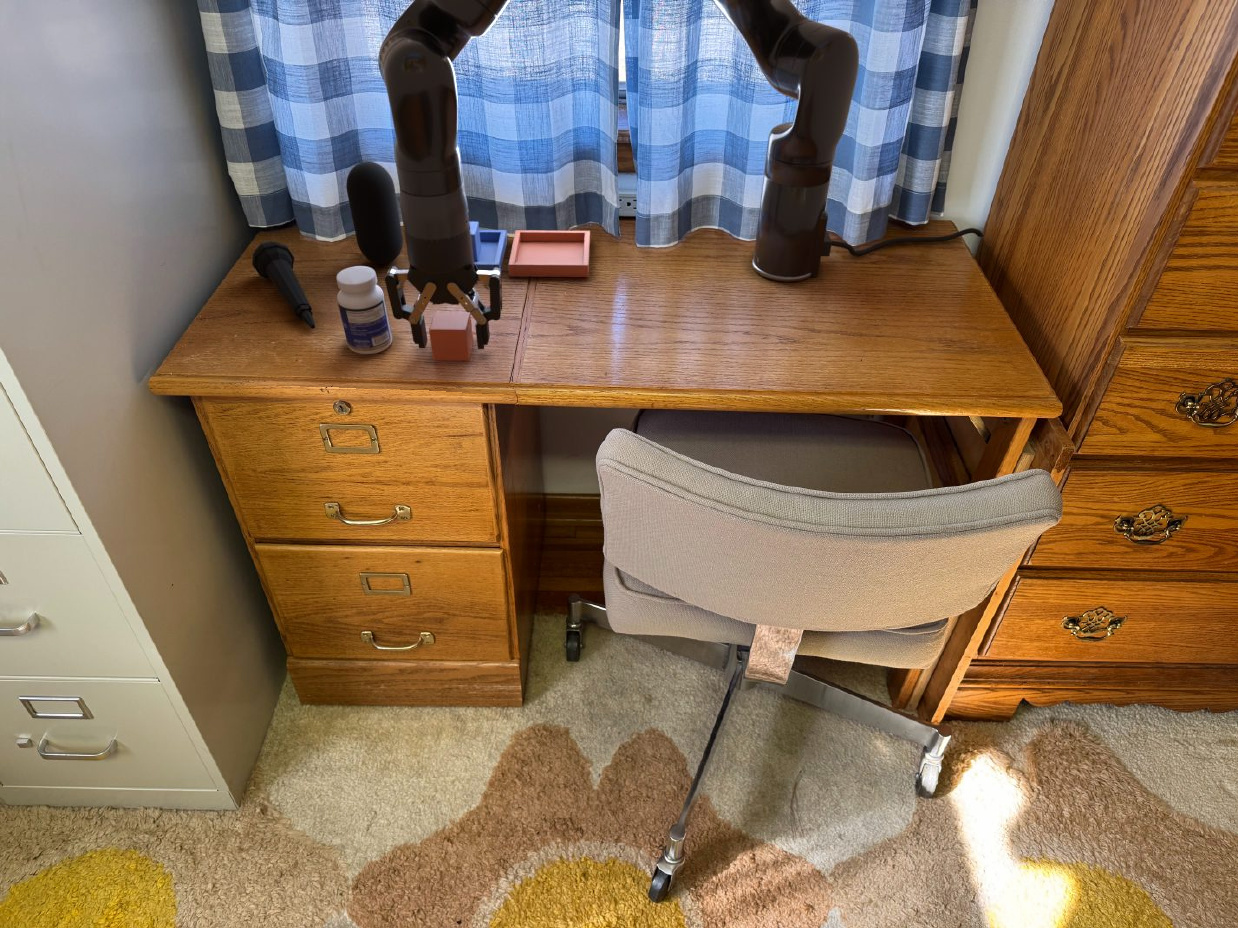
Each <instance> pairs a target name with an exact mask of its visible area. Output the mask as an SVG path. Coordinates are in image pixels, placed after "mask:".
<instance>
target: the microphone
mask: <svg viewBox="0 0 1238 928" xmlns="http://www.w3.org/2000/svg"><path fill="white" fill-rule="evenodd" d="M294 262H295V257H294V254H293V253H292V252H291V250H290V249H289V247H288V245H286V244H283V243H281V242H278V241H272V240H268V241H264V242H261V243H259V245H258V246H257V247H256V248H255V249H254V252H253V253H252V262H251V265H252V267H253V268H254V270H255V271H256V273H257V274H258V275H259V277H261V278H265V279H267V280H270V281H271V282H272V283H273V285H274V286H275V288H276V289H277V290H278V292H279V293H280V295H281V296H282V297H283V299H284V301H285V302H286V303H287V304H288V306H289V307H290V308H291V310H292V311H293V312H294V314H295V315H296V317H298V318H299V319H300V320H301V321H303V322H304V323H305V324H306V325H307V326H308V327H309V328H310V329H312V330H314V329H315V328H316V324H315V320H314V317H313V312H312V309H313V308H312V306H311V304H310V302H309V300H308V298H307V296H306V293H305V291H304V290H303V288H302V285H301V284H300V282H299V280H298V278H297V275H296V273H295V272H294V270H293V269H294Z"/></svg>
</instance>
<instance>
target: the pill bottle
mask: <svg viewBox="0 0 1238 928" xmlns="http://www.w3.org/2000/svg"><path fill="white" fill-rule="evenodd" d="M336 283H337V287H338V289H339V291H338V292H337V296H336V300H337V301H336V302H337V306H338V309H339V314H340V318H341V323H342V327H343V331H344V336H345V339H346V344H347V347H348V348H349V350H351V351H352V352H354V353H355V354H359V355H373V354H379V353H380V352H381V353H382V352H383V351H385V350H387V349H388V348H389V347H390V346H391V345H392V342H393V333H392V329H391V323H390V319H389V313H388V309H387V303H386V297H385V294H384V291H383V289H382V287H380V286H379V285H378V277H377V273H376V270H375V269H374V268H372V267H370V266H365V265H354V266H350V267H347V268H344V269H341V270H340V271H339V272H337V274H336Z"/></svg>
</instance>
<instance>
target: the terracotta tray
mask: <svg viewBox="0 0 1238 928" xmlns="http://www.w3.org/2000/svg"><path fill="white" fill-rule="evenodd" d="M512 241H513V242H512V246H511V251H510V256H509V261H508V265H507V266H508V276H509V277H527V278H528V277H533V278H535V277H538V278H539V277H541V278H543V277H545V278H547V277H548V278H555V277H556V278H589V274H590V273H589V270H590V253H591V230H545V229H544V230H542V229H541V230H539V229H538V230H537V229H536V230H535V229H534V230H533V229H530V230H529V229H528V230H526V229H524V230H523V229H520V230H519V229H516V230H514V236H513V239H512Z"/></svg>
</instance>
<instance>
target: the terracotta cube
mask: <svg viewBox="0 0 1238 928" xmlns="http://www.w3.org/2000/svg"><path fill="white" fill-rule="evenodd" d="M471 316H472V315H471V314H470V313H468V312H467V311H448V310H447V311H446V310H445V311H444V310H443V311H439V310H438V311H437V310H436V311H434V313H433V316H432V319H431V322H430V325H429V328H428V332H429V340H430V346H431V353H432V359H433V361H470V359H471V358H470V357H471V354H472V351H473V350H472V349H473V345H474V333H473V325H472V317H471Z"/></svg>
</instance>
